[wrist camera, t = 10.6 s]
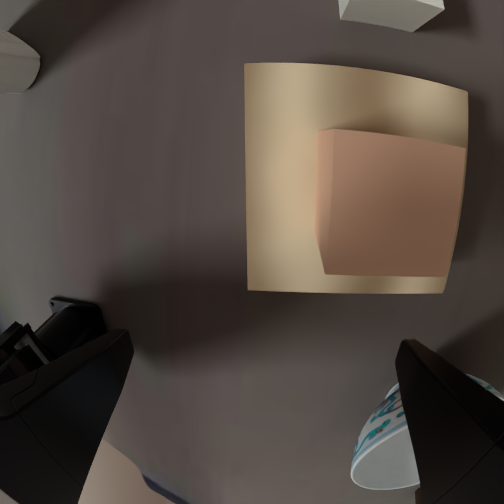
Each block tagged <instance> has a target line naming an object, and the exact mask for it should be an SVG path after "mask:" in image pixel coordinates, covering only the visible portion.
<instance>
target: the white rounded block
mask: <svg viewBox="0 0 504 504" xmlns="http://www.w3.org/2000/svg"><path fill="white" fill-rule="evenodd" d="M39 60H40V56H39V54H38V53H37V52H36V51H35V50H34V49H33V48H31V47H30V46H29V45H28V44H26V43H25V42H23V41H22V40H21V39H19V38H18V37H16V36H15V35H13V34H11V33H9V32H7V31H3V30H0V94H12V93H23V92H24V90H25V89H27V88H29V87H30V85H31V84H32V83H33V81H34V80H35V78H36V76H37V74H38V71H39V68H40V61H39Z"/></svg>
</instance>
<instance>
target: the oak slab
mask: <svg viewBox="0 0 504 504" xmlns="http://www.w3.org/2000/svg"><path fill="white" fill-rule="evenodd" d="M244 72H245V156H246V221H247V278H248V290H257V291H281V292H312V293H366V294H419V293H443V292H444V288H445V284H446V281H447V277H448V273H449V269H450V265H451V261H452V256H453V252H454V247H455V242H456V237H457V232H458V227H459V221H460V215H461V208H462V201H463V194H464V185H465V176H466V164H467V148H468V92H467V91H464V90H461V89H458V88H454V87H451V86H447V85H443V84H440V83H436V82H432V81H428V80H424V79H419V78H415V77H410V76H405V75H400V74H395V73H389V72H383V71H377V70H370V69H363V68H355V67H346V66H335V65H323V64H305V63H246V64H244ZM330 129H342V130H353V131H363V132H372V133H381V134H388V135H396V136H403V137H409V138H415V139H421V140H427V141H432V142H438V143H443V144H448V145H452V146H457V147H462V148H465V163H464V175H463V184H462V193H461V200H460V207H459V214H458V220H457V226H456V231H455V236H454V241H453V246H452V251H451V255H450V260H449V264H448V268H447V272H446V276H445V277H398V276H353V275H325V272H324V268H323V264H322V260H321V256H320V252H319V248H318V244H317V240H316V236H315V232H314V226H315V208H316V186H317V155H318V131H323V130H330Z"/></svg>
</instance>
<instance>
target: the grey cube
mask: <svg viewBox="0 0 504 504" xmlns="http://www.w3.org/2000/svg"><path fill="white" fill-rule="evenodd" d="M339 10H340V19H341V20H349V21H357V22H363V23H370V24H375V25H381V26H386V27H391V28H396V29H400V30H405V31H409V32H414V31H415V30H416V29H418V28H419V27H421V26H422V25H423V24H425V23H426V22H428V21H429V20H430V19H432V18H433V17H435V16H436V15H437V14H439V13H440V12H442V11H443V10H445V9H444V4H443V0H339Z"/></svg>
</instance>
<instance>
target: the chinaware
mask: <svg viewBox="0 0 504 504" xmlns="http://www.w3.org/2000/svg"><path fill="white" fill-rule="evenodd" d="M466 375H467V376H469V377H470V378H472V379H473V380H474V381H476V382H477V383H479V384H480V385H482V386H483V387H484V388H485V389H486V390H489V391H490V392H491V393H493V394H494V395H496V396H497V397H499V398H500V399H502V400H503V401H504V397H503V396H502V395H501V394H500V393H499V392H498V391H497V390H496V389H495V388H494V387H493V386H491V385H490V384H488V383H487V382H485V381H484V380H482V379H480V378H478V377H475V376H473V375H469V374H466ZM351 478H352V480H353V481H354V482H355V483H356V484H357V485H359V486H361V487H364V488H368V489H375V490H389V489H398V488H404V487H408V486H412V485H416V484H419V483H420V481H419V476H418V470H417V466H416V461H415V456H414V451H413V447H412V442H411V438H410V434H409V430H408V426H407V422H406V418H405V414H404V410H403V406H402V402H401V396H400V389H399V383H397V384H396V385H395V386H394V387H393V388H392V389H391V390H390V391H389V392H388V394H387V396H386V398H385V400H384V401H383V402H382V403H381V404H380V405H379V406H378V407H377V408H376V410H375V411H374V412H373V413H372V415H371V416H370V418H369V419H368V421H367V422H366V424H365V426H364V427H363V429H362V431H361V433H360V436H359V438H358V441H357V444H356V447H355V451H354V455H353V460H352V466H351Z"/></svg>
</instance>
